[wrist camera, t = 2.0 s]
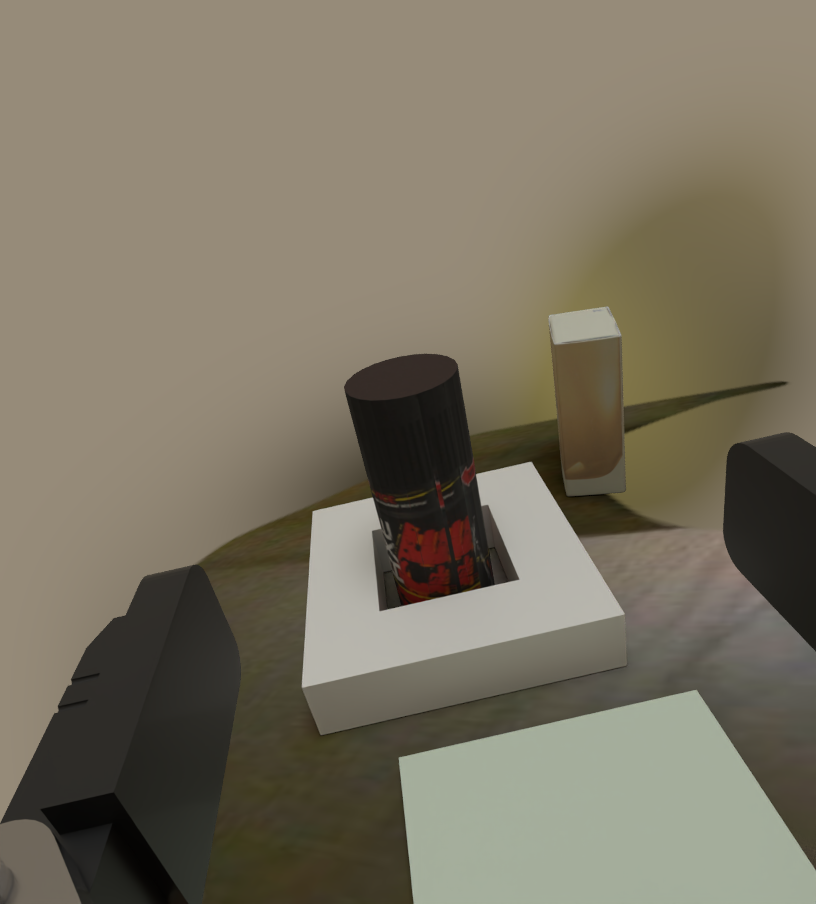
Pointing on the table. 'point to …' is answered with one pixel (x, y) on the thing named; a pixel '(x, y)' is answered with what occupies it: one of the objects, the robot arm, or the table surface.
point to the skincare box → (589, 400)
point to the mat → (600, 816)
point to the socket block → (453, 613)
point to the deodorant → (422, 474)
